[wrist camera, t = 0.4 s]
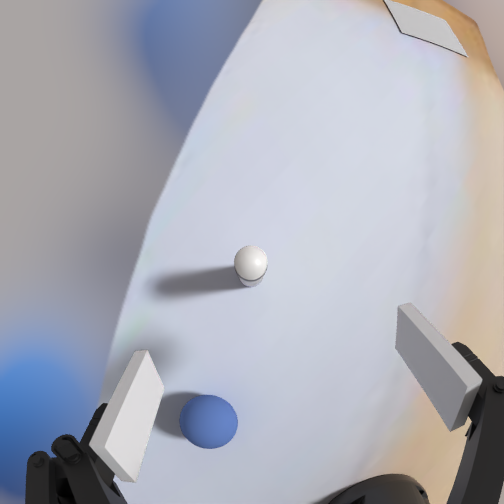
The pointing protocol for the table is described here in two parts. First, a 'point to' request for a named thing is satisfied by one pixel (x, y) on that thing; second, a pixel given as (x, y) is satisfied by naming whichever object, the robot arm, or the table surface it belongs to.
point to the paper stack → (424, 26)
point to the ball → (208, 421)
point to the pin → (250, 265)
